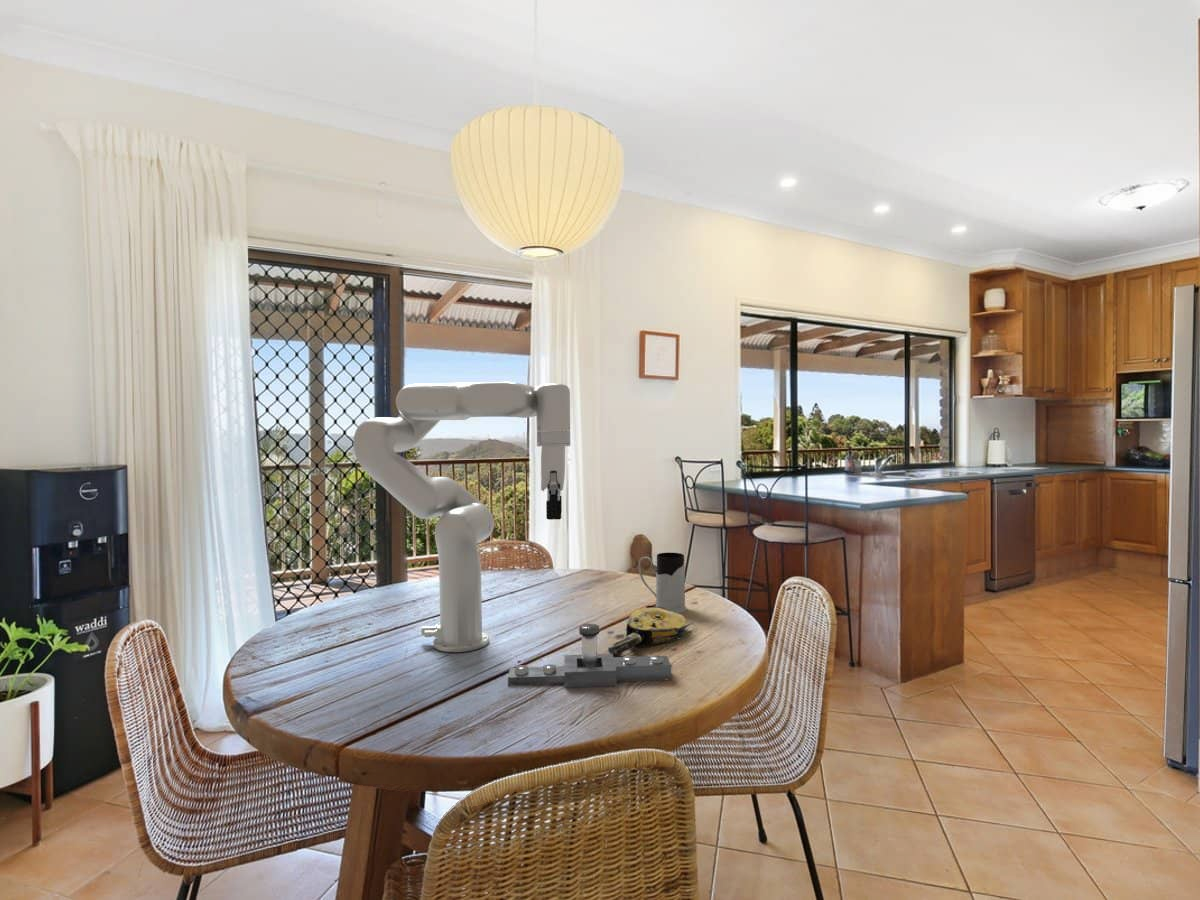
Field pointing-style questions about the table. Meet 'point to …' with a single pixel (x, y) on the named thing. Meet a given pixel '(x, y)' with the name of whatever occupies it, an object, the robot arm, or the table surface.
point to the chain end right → (619, 668)
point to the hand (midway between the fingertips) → (554, 516)
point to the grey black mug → (669, 581)
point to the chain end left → (551, 677)
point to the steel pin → (589, 644)
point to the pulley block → (650, 628)
